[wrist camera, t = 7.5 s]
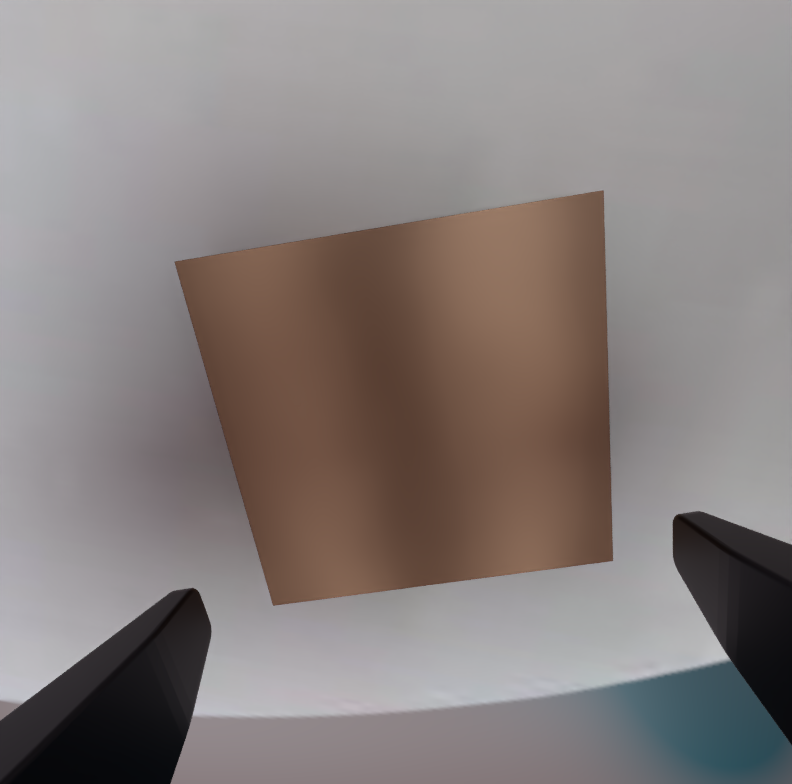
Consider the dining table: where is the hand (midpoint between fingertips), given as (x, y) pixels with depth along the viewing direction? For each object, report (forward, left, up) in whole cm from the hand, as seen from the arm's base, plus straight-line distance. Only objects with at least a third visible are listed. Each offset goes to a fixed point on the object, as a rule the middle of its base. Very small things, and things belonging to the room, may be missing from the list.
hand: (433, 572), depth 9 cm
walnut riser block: (0, 0, -10) cm, 10 cm away
